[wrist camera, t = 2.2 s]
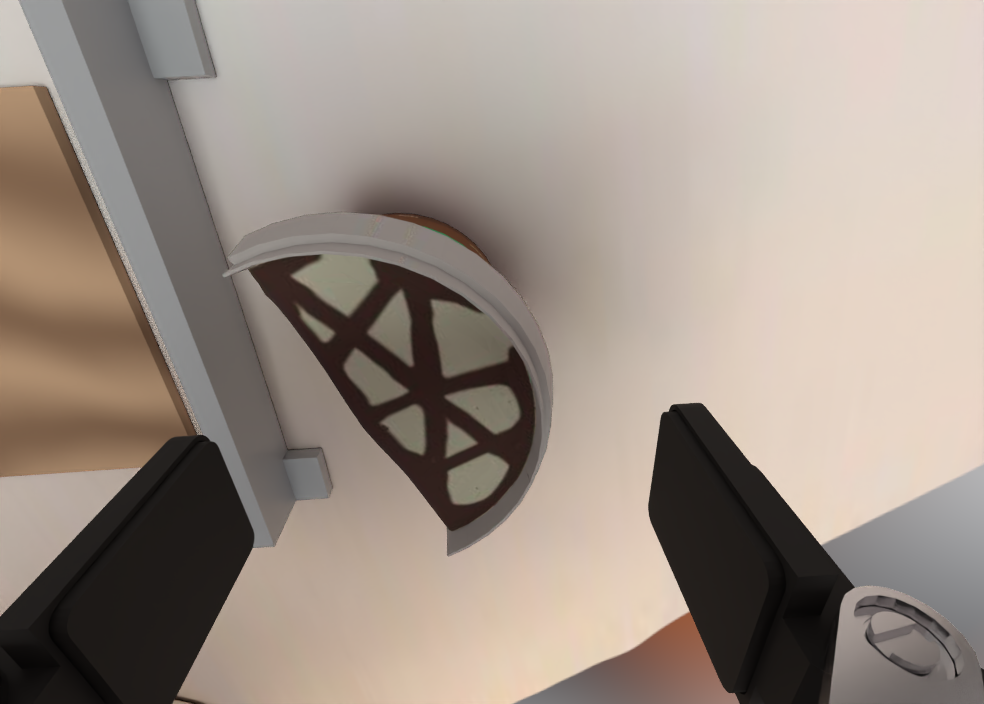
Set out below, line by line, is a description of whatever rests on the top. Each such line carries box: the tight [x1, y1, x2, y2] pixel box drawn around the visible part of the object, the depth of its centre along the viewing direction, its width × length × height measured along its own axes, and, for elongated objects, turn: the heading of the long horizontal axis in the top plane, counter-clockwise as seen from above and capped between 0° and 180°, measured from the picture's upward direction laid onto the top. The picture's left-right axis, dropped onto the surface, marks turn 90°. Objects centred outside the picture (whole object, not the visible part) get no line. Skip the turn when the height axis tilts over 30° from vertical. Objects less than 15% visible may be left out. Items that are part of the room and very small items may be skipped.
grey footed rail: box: [19, 0, 333, 548], centre depth 20 cm, size 24×5×4 cm, turn 3°
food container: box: [222, 212, 553, 557], centre depth 17 cm, size 12×6×10 cm, turn 26°
